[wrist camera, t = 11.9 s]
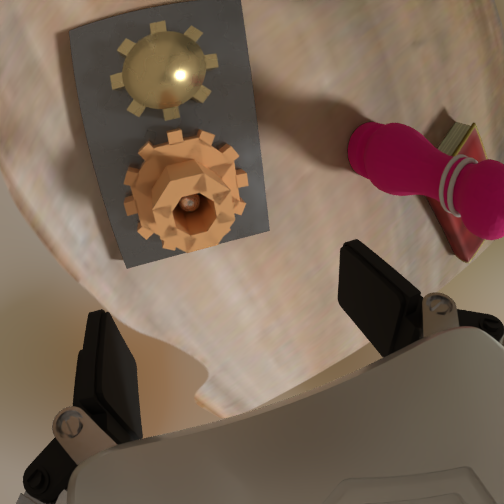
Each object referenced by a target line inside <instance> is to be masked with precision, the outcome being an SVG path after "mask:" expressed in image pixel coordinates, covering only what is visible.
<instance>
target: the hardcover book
mask: <svg viewBox="0 0 504 504" xmlns="http://www.w3.org/2000/svg"><path fill="white" fill-rule="evenodd" d="M437 149H438V150H440V151H441V152H443V153H445V154H447V155H449V156H453V157H454V156H456V155H460V154H463V155H466V156H467V157H468V158H474V159H475V160H477V162H478V163H479V162H481V161H483V160H487V159H488V158H487V155H486V152H485V149H484V146H483V143H482V140H481V137H480V134H479V132H478V129H477V126H476V124H475V123H473V124H472V125H471V126H469V125H466V124H462V123H458V122H455V124H454V125H453V127H452V128H451V130H450V131H449V133H448V134H447V136H446V137H445V138H444V140H443V141H442V143H441V144H440V146H439V147H438V148H437ZM426 198H427V200H428V202H429V204H430V205H431V207H432V209H433V211H434V213H435V215H436V217H437V219H438V221H439V223H440V225H441V227H442V229H443V231H444V233H445V235H446V237H447V239H448V241H449V243H450V245H451V247H452V250H453V252H454V254H455V255H456V257H457V258H459V259H460V260H461V261H463V262H465V263H470V261H471V260H472V259H473V257H474V256H475V254H476V253H477V251H478V250H479V249H480V247H481V246H482V244H483V243H484V241H485V240H486V239H482V238H480V237H478V236H476V235H474V234H473V233H471V232H470V231H469V230H468V229H467V228H466V227H465V225H464V223H463V221H462V219H461V217H456V216H454V215H453V214H452V213H449V212H446V211H445V210H444V209H443V207H442V205H441V203H440V202H439V201H437V200H436V199H433V198H431V197H428V196H426Z"/></svg>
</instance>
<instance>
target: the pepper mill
mask: <svg viewBox="0 0 504 504" xmlns="http://www.w3.org/2000/svg"><path fill="white" fill-rule="evenodd" d="M348 159H349V162H350V165H351V166H352V168H353V169H354V171H355V172H356V173H358V174H359V175H361V176H363V177H365V178H367V179H370V181H371V182H372V183H373V185H374V186H376V187H377V188H378V189H379V190H381V191H384V192H386V193H389V194H392V195H399V196H406V195H425V196H428V197H431V198H433V199H436V200H437V201H439V202H440V203H441V205H442V207H443V209H444V210H445V211H446V212H449V213H452V214H453V215H454V216H456V217H461V219H462V221H463V223H464V225H465V227H466V228H467V229H468V230H469V231H470V232H471V233H473V234H474V235H476V236H478V237H480V238H482V239H486V240H495V239H499V238H502V237H503V236H504V164H502V163H500V162H498V161H495V160H491V159H487V160H483V161H481V162H479V163H478V162H477V160H475V159H474V158H468V157H467V156H466V155H463V154H460V155H456V156H454V157H453V156H449V155H447V154H445V153H443V152H441V151H440V150H438V149H437V148H435V147H434V146H433V145H432V144H431V143H430V142H429V141H428V140H427V139H426V138H425V137H424V136H423V135H422V134H421V133H419V132H418V131H416V130H415V129H413V128H411V127H409V126H406V125H404V124H400V123H389V124H386V125H384V124H380V123H376V122H368V123H365V124H362V125H361V126H359V127H358V128H357V129H356V130H355V131H354V133H353V134H352V136H351V138H350V141H349V144H348Z"/></svg>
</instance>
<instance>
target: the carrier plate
mask: <svg viewBox="0 0 504 504" xmlns="http://www.w3.org/2000/svg"><path fill="white" fill-rule="evenodd" d="M69 36H70V45H71V54H72V61H73V68H74V75H75V81H76V87H77V93H78V99H79V104H80V109H81V114H82V119H83V124H84V128H85V133H86V137H87V141H88V146H89V150H90V154H91V158H92V162H93V165H94V169H95V173H96V176H97V180H98V184H99V187H100V191H101V194H102V197H103V201H104V204H105V207H106V210H107V213H108V217H109V220H110V223H111V226H112V229H113V232H114V235H115V238H116V240H117V243H118V246H119V249H120V252H121V255H122V257H123V260H124V263H125V265H126V268H127V269H128V268H131V267H135V266H139V265H142V264H146V263H150V262H153V261H157V260H161V259H164V258H168V257H172V256H175V255H179V254H183V253H187V252H185V251H183V250H181V249H179V248H177V247H176V249H175V251H174V250H169V249H165V248H163V247H162V240H161V239H160V236H159V235H157V234H155V233H153V234H152V235H151V236H150V237H149V238H148V239H147V240H146V239H145V238H144V237H143V236H142V235H140V234H139V233H138V232H137V227H138V223H139V222H140V219H139V216H138V213H136V214H133V215H129V216H127V213H126V210H125V207H124V200H125V197H128V196H132V195H133V194H132V190H131V187H130V186H129V185H125V184H124V180H125V177H126V173H127V170H128V167H132V168H136V169H139V168H140V167H141V165H142V163H143V162H144V159H143V158H142V157H141V156H140V155H139V154H138V151H139V149H140V148H141V147H142V146H143V145H145V144H146V143H147V142H148V141H150V142H151V143H152V145H153V146H154V145H157V144H161V143H165V142H168V138H167V133H166V131H169V130H173V129H178V128H180V129H181V130H182V136H183V138H187V137H191V136H196V135H197V133H198V130H199V129H201V130H204V131H207V132H210V133H212V134H214V135H215V137H214V140H213V142H212V145H211V146H213V147H214V148H216V149H217V150H219V149H220V148H222V147H223V146H224V145H225V144H226V143H227V144H229V145H230V146H232V148H233V149H234V150H235V151H236V152H237V154H238V155H239V157H238V158H237V159H236V160H234V163H235V170H238V169H242V170H244V171H245V172H246V173H247V178H248V185H249V186H245V187H240V188H238V190H239V197H240V198H242V199H243V200H244V202H245V203H246V205H245V208H244V210H243V213H242V215H239V214H235V213H234V215H235V221H234V222H233V224H232V225H231V227H230V229H231V230H230V231H229V232H228V233H227V234H226V235H225V236H223V238H222V239H221V241H220V242H219V243H218V244H221V243H224V242H228V241H232V240H236V239H240V238H244V237H247V236H251V235H255V234H259V233H263V232H267V231H270V230H269V220H268V211H267V202H266V193H265V184H264V175H263V167H262V158H261V150H260V141H259V133H258V125H257V117H256V109H255V101H254V93H253V85H252V78H251V70H250V63H249V55H248V48H247V41H246V34H245V27H244V20H243V13H242V6H241V0H197V1H189V2H182V3H175V4H169V5H163V6H157V7H152V8H147V9H142V10H138V11H134V12H129V13H125V14H121V15H117V16H114V17H110V18H107V19H103V20H100V21H96V22H93V23H90V24H87V25H84V26H81V27H78V28H75V29H73V30H70V31H69ZM199 194H200V193H196V194H192V195H188V196H184V197H181V199H180V200H179V202H178V203H179V205H180V207H181V209H183V210H184V211H186V212H193V211H195V210H196V209H197V208H198V207H199V205H200V197H199Z"/></svg>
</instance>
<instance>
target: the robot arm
mask: <svg viewBox="0 0 504 504" xmlns="http://www.w3.org/2000/svg"><path fill="white" fill-rule="evenodd" d="M420 294H421V292H420V291H419V290H418V289H417V288H416V287H415V286H413V285H412V284H411V283H410V282H409V281H408V280H407V279H405V278H404V277H403V276H402V275H401V274H400V273H398V272H397V271H396V270H395V269H394V268H392V267H391V266H390V265H389V264H388V263H386V262H385V261H384V260H383V259H382V258H380V257H379V256H378V255H377V254H376V253H374V252H373V251H372V250H371V249H369V248H368V247H367V246H366V245H364V244H363V243H362V242H361V241H359V240H358V239H355V240H352V241H349V242H345V243H344V244H343V247H341V249H340V266H339V285H338V302H339V304H340V306H341V307H342V308H343V310H344V311H345V312H346V313H347V314H348V316H349V317H350V318H351V319H352V320H353V322H354V323H355V324H356V325H357V326H358V328H359V329H360V330H361V331H362V332H363V334H364V335H365V336H366V337H367V339H368V340H369V341H370V342H371V343H372V345H373V346H374V347H375V348H376V350H377V351H378V352H379V353H380V354H381V356H382V357H384V358H382V359H380V360H378V361H376V362H374V363H371V364H369V365H368V366H365V367H363V368H361V369H359V370H356V371H354V372H352V373H350V374H347V375H345V376H343V377H341V378H338V379H336V380H334V381H331V382H329V383H326V384H324V385H322V386H319V387H317V388H314V389H312V390H309V391H306V392H304V393H301V394H299V395H296V396H293V397H291V398H288V399H285V400H283V401H279V402H277V403H274V404H271V405H268V406H265V407H262V408H259V409H256V410H252V411H249V412H246V413H243V414H240V415H236V416H233V417H230V418H226V419H223V420H220V421H216V422H212V423H208V424H204V425H201V426H196V427H192V428H188V429H184V430H180V431H176V432H172V433H167V434H163V435H158V436H153V437H148V438H144V439H142V438H143V434H142V425H141V417H140V406H139V395H138V380H137V366H136V362H135V359H134V357H133V355H132V354H131V352H130V350H129V348H128V347H127V345H126V343H125V341H124V339H123V338H122V336H121V334H120V332H119V330H118V328H117V326H116V324H115V322H114V320H113V319H112V316H111V315H110V313H109V312H105V311H104V310H102V309H101V310H98V311H94V312H90V313H89V314H88V319H87V325H86V331H85V337H84V344H83V350H80V351H79V354H78V360H77V368H76V377H75V386H74V396H73V397H74V398H73V406H72V407H67V408H64V409H63V410H61V411H60V412H59V413H58V414H57V415H56V416H55V418H54V420H53V425H52V430H53V434H54V436H55V438H54V439H53V440H52V441H51V442H50V443H49V444H48V446H47V447H46V448H45V449H44V450H43V451H42V452H41V453H40V454H39V455H38V456H37V458H36V459H35V460H34V461H33V462H32V463H31V464H30V465H29V466H28V468H27V469H26V470H25V473H24V476H23V484H24V488H25V490H26V491H25V493H24V494H22V493H21V494H20V496H19V498H18V500H17V503H16V504H504V326H503V324H502V322H501V321H500V320H499V319H498V318H497V317H495V316H493V315H489V314H484V313H477V312H472V311H465V310H459V309H457V308H456V304H455V302H454V301H453V300H452V299H451V298H450V297H449V296H447V295H445V294H442V293H430V294H427V295H426V296H425V297H424V298H423V297H422V296H421V295H420Z"/></svg>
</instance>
